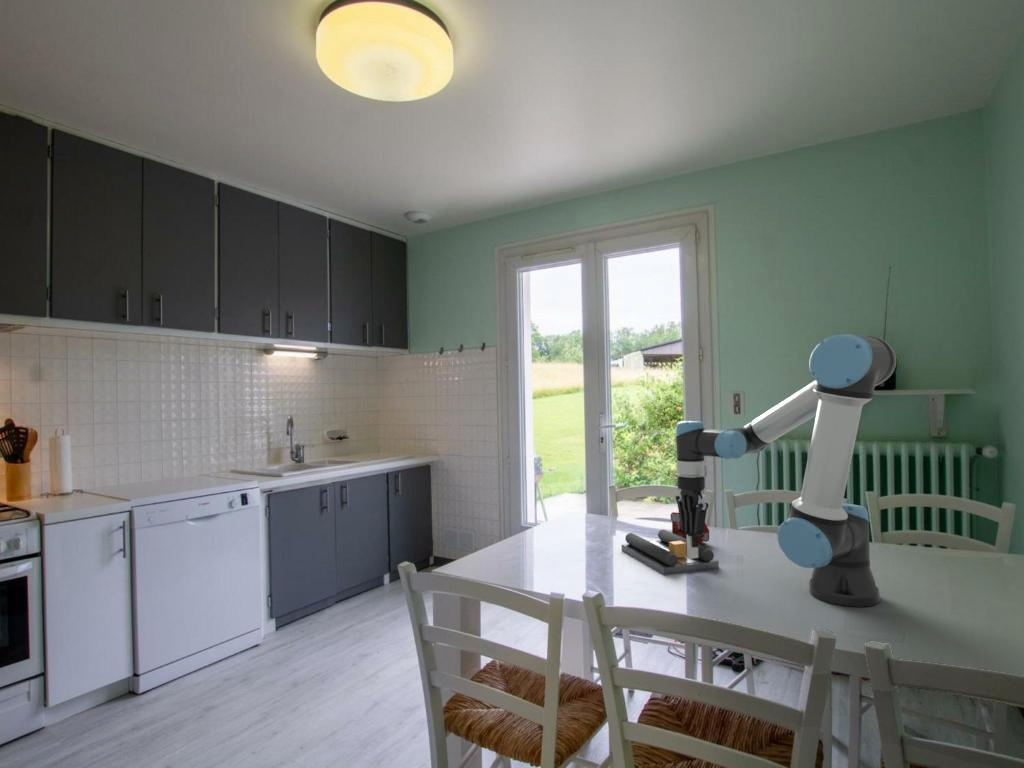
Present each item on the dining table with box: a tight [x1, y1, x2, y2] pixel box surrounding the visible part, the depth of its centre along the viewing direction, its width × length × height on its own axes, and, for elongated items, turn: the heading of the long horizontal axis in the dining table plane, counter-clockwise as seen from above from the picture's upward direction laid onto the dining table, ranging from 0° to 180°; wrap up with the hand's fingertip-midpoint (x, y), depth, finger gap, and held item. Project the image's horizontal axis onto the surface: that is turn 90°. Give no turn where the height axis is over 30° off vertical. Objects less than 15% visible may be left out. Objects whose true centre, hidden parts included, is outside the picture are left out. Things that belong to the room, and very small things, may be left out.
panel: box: [621, 539, 720, 576], centre depth 173 cm, size 26×18×2 cm
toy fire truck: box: [670, 511, 710, 546], centre depth 189 cm, size 7×12×10 cm, turn 64°
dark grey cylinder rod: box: [625, 532, 678, 566], centre depth 171 cm, size 28×4×4 cm, turn 16°
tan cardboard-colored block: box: [669, 541, 687, 558], centre depth 167 cm, size 3×4×4 cm
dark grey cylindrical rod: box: [657, 529, 715, 561], centre depth 175 cm, size 28×4×4 cm, turn 16°
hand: (692, 557), depth 160 cm, fingers closed
